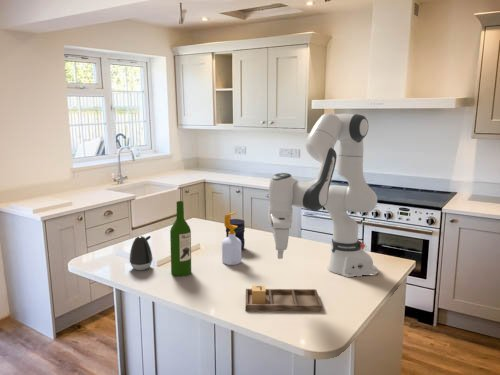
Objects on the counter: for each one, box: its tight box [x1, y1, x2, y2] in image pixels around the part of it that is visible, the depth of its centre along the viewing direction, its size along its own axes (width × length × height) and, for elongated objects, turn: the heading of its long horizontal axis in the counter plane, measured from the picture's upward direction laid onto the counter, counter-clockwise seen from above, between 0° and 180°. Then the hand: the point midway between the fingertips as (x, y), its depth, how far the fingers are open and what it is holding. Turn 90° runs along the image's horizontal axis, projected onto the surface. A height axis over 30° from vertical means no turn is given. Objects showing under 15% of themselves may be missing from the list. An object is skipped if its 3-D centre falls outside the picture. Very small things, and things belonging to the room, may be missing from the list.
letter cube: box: [251, 284, 266, 304], centre depth 159 cm, size 5×5×5 cm
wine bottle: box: [169, 200, 192, 278], centre depth 184 cm, size 9×9×32 cm
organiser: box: [245, 288, 323, 312], centre depth 159 cm, size 28×14×2 cm, turn 90°
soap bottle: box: [221, 211, 242, 266], centre depth 199 cm, size 9×9×25 cm
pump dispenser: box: [129, 235, 154, 271], centre depth 190 cm, size 10×10×15 cm
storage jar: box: [225, 218, 246, 252], centre depth 218 cm, size 10×10×15 cm
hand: (279, 253), depth 156 cm, fingers open, 8 cm apart
